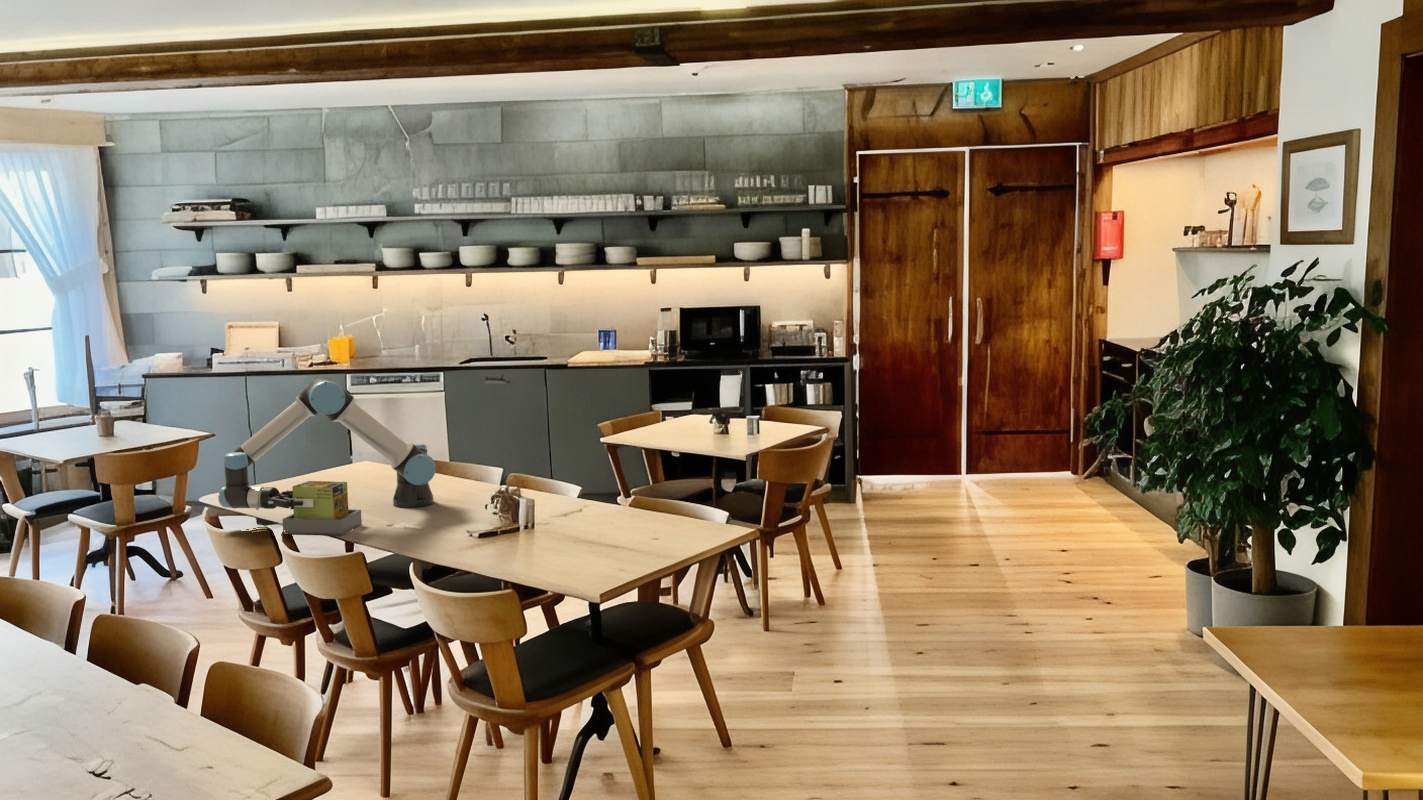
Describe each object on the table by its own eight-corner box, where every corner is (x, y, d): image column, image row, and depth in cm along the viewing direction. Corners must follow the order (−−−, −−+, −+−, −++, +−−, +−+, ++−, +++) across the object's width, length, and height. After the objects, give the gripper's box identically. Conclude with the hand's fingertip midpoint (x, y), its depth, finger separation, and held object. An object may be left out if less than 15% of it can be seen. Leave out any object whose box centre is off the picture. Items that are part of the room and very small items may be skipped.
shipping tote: (361, 524, 384) (361, 509, 383) (341, 535, 368) (341, 520, 367) (305, 523, 386) (304, 508, 385) (283, 534, 370) (282, 519, 369)
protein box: (334, 531, 370) (332, 487, 368) (293, 530, 373) (291, 486, 371) (350, 524, 380) (348, 481, 379) (310, 523, 383) (307, 480, 381)
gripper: (282, 500, 390) (338, 501, 388) (246, 516, 366) (305, 517, 364) (281, 480, 390) (337, 481, 387) (244, 494, 365) (304, 495, 363)
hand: (322, 498), depth 376 cm, fingers open, 13 cm apart
